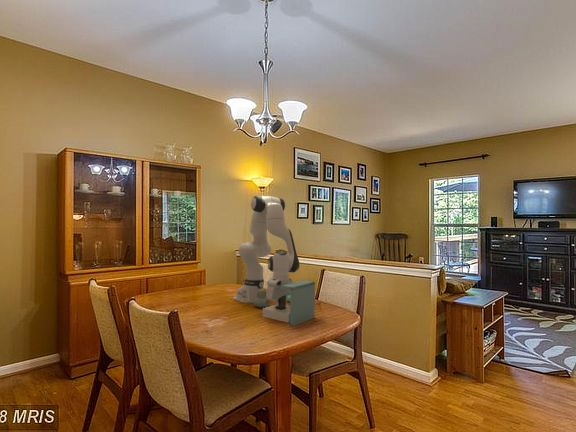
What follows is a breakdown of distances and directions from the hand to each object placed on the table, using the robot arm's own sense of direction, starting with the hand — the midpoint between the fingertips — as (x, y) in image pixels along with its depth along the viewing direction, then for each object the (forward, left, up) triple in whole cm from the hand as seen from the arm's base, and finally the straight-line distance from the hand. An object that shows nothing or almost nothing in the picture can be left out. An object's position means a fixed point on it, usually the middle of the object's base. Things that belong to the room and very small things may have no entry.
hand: (280, 305), depth 191 cm
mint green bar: (-8, +27, -7) cm, 29 cm away
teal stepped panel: (+12, 0, -6) cm, 14 cm away
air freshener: (-22, +9, -6) cm, 25 cm away
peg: (0, 0, -4) cm, 4 cm away
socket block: (+2, 0, -6) cm, 6 cm away
